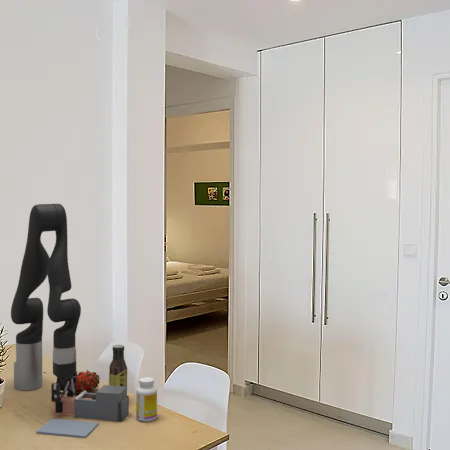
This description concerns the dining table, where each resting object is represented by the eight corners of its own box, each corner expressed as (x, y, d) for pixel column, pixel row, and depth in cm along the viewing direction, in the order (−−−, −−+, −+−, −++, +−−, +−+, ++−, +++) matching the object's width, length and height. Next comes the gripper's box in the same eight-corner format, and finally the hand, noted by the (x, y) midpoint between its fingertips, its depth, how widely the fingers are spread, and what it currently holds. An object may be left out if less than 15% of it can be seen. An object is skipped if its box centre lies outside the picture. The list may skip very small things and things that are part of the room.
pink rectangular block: (54, 414, 188) (54, 399, 188) (58, 410, 191) (58, 395, 191) (88, 416, 186) (88, 401, 186) (92, 413, 189) (92, 398, 189)
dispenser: (74, 417, 185) (74, 390, 184) (83, 409, 191) (83, 383, 191) (121, 421, 182) (121, 394, 181) (128, 413, 189) (128, 386, 188)
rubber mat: (36, 433, 172) (36, 431, 172) (51, 420, 182) (51, 418, 182) (85, 438, 170) (85, 436, 170) (99, 424, 179) (99, 422, 179)
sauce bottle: (123, 406, 194) (123, 349, 193) (105, 405, 196) (105, 348, 194) (130, 399, 201) (130, 344, 200) (113, 398, 202) (113, 343, 201)
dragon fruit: (103, 393, 211) (71, 405, 204) (93, 375, 216) (63, 386, 209) (105, 380, 206) (74, 391, 199) (96, 362, 211) (65, 372, 204)
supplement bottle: (160, 416, 186) (161, 378, 186) (149, 423, 180) (150, 384, 180) (143, 412, 189) (143, 375, 189) (132, 420, 183) (132, 381, 183)
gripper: (63, 352, 196) (64, 399, 197) (43, 365, 182) (43, 415, 183) (84, 354, 194) (84, 401, 195) (65, 366, 180) (65, 417, 181)
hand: (64, 408), depth 189 cm, fingers open, 7 cm apart
